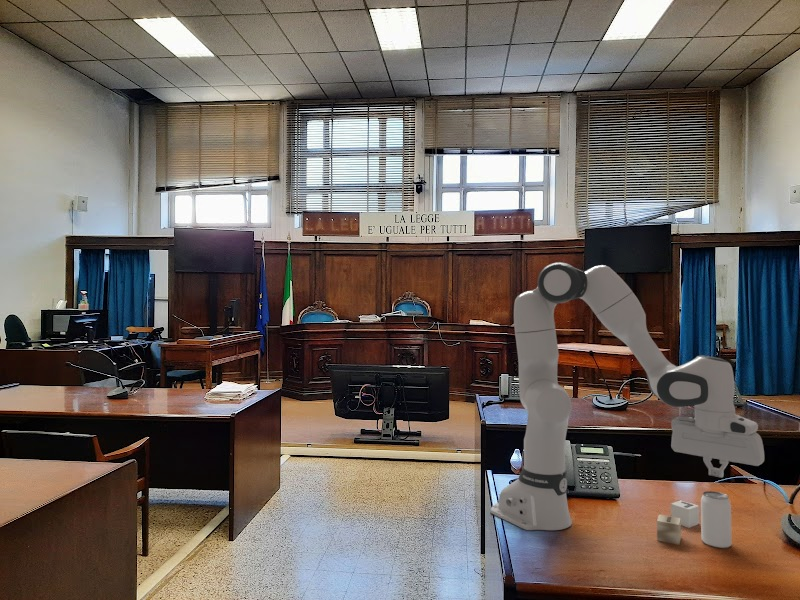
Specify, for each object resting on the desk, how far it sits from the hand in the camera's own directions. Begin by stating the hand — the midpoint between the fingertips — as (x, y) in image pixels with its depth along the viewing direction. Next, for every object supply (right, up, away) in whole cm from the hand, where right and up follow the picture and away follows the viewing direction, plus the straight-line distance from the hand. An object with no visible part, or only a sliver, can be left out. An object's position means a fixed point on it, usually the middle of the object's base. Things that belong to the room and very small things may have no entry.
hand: (716, 476), depth 133 cm
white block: (-1, -17, +12) cm, 21 cm away
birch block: (-11, -17, +2) cm, 20 cm away
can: (0, -17, 0) cm, 17 cm away
